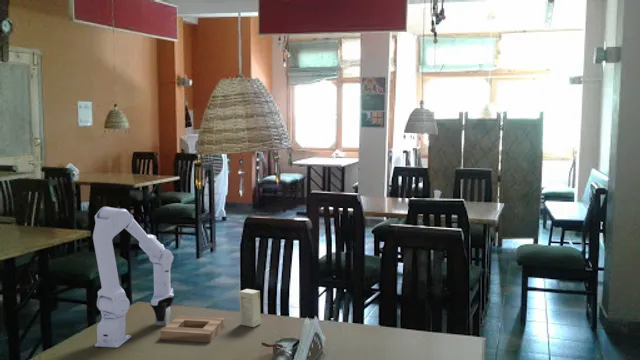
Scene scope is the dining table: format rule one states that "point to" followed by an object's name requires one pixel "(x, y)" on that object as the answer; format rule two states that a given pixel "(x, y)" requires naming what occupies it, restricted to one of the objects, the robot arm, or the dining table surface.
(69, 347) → the dining table surface
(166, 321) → the grey rectangular block
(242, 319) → the skincare box
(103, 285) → the robot arm
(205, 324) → the well block
